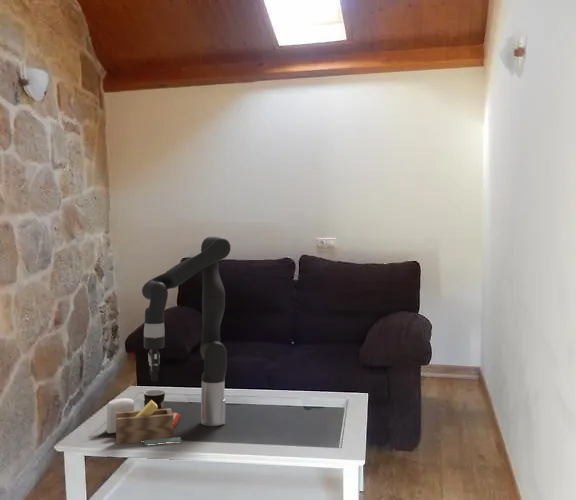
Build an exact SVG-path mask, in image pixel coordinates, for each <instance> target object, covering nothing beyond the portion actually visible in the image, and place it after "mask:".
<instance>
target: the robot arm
mask: <svg viewBox="0 0 576 500" xmlns="http://www.w3.org/2000/svg"><path fill="white" fill-rule="evenodd" d="M231 250H232V249H231V244H230V241H229V240H228V239H226V238H225V237H223V236H208V237H206V238H205V239H203V241H202V242H201V246H200V252H199V253H198V254H196V255H195V256H193V257H190V258H187V259H184V261H181V262H179V263H177V264H176V265H174V266H172V267H170V269H168V270H167V271H166V272H164V273H162V274H160V275H157V276H155V277H152V278H151V279H149V280H148V281H146V283H144V285H143V286H142V289H141V293H142V296H143V297H144V298H145V299H147V300H148V301H149V306H148V307H147V308H145V310H144V327H143V348H144V349H146V350H148V351H149V352H148V353H147V355H148V360H147V361H148V365H149V376H151V379H150V380H151V382H158V381H159V378H158V377H159V370H160V357H161V355H160V354H161V353H160V352H159V349H160V350H161V349H163V348H164V347H165V335H166V334H165V331H166V330H165V310H166V307H167V306H166V305H167V301H168V297H169V291H168V290H170V289H175V288H177V287H179V286H180V285H182V284H183V283H185V282H186V281H187V280H189V279H190V278H192V277H193V276H194V275H197V274H198V273H199V272H201V271H202V291H201V292H202V293H201V295H202V297H201V313H202V316H201V317H202V318H201V319H202V333H201V340H200V349H199V351H200V352H199V353H200V356H201V358H202V359H203V360H204V363H203V373H202V374H201V396H200V397H201V402H200V403H201V408H200V413H201V414H200V424H201V425H203V426H206V427H217V426H222V425H226V399H225V384H226V383H225V379H226V378H225V377H226V373H227V367H228V366H227V365H228V364H227V363H228V352H227V348H226V346H225V345H224V343H222V342H221V323H222V321H223V318H224V313H225V307H226V291H225V288H224V284H223V281H222V279H221V276H220V272H219V261H222V260H223V259H225V258H227V257H228V255H230V252H231Z"/></svg>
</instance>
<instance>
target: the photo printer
mask: <svg viewBox="0 0 576 500" xmlns="http://www.w3.org/2000/svg"><path fill="white" fill-rule="evenodd" d="M134 402H135V401H134V400H133V399H132V398H125V397H124V398H116V399H112V400H111V401H109V402H108V403H107V408H106V433H107V434H116V412H126V411H135V403H134Z"/></svg>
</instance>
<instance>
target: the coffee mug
mask: <svg viewBox="0 0 576 500" xmlns="http://www.w3.org/2000/svg"><path fill="white" fill-rule="evenodd" d="M165 394H166V391H164V390H161V389H150V390H145V391H144V392H143V397H144V407H145V406H146V405H147V404H148V403H149V402H150V401H151V400H152V401H153V402H155V403H156V404H157V406H158V408H157V409H164V403H165Z"/></svg>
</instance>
